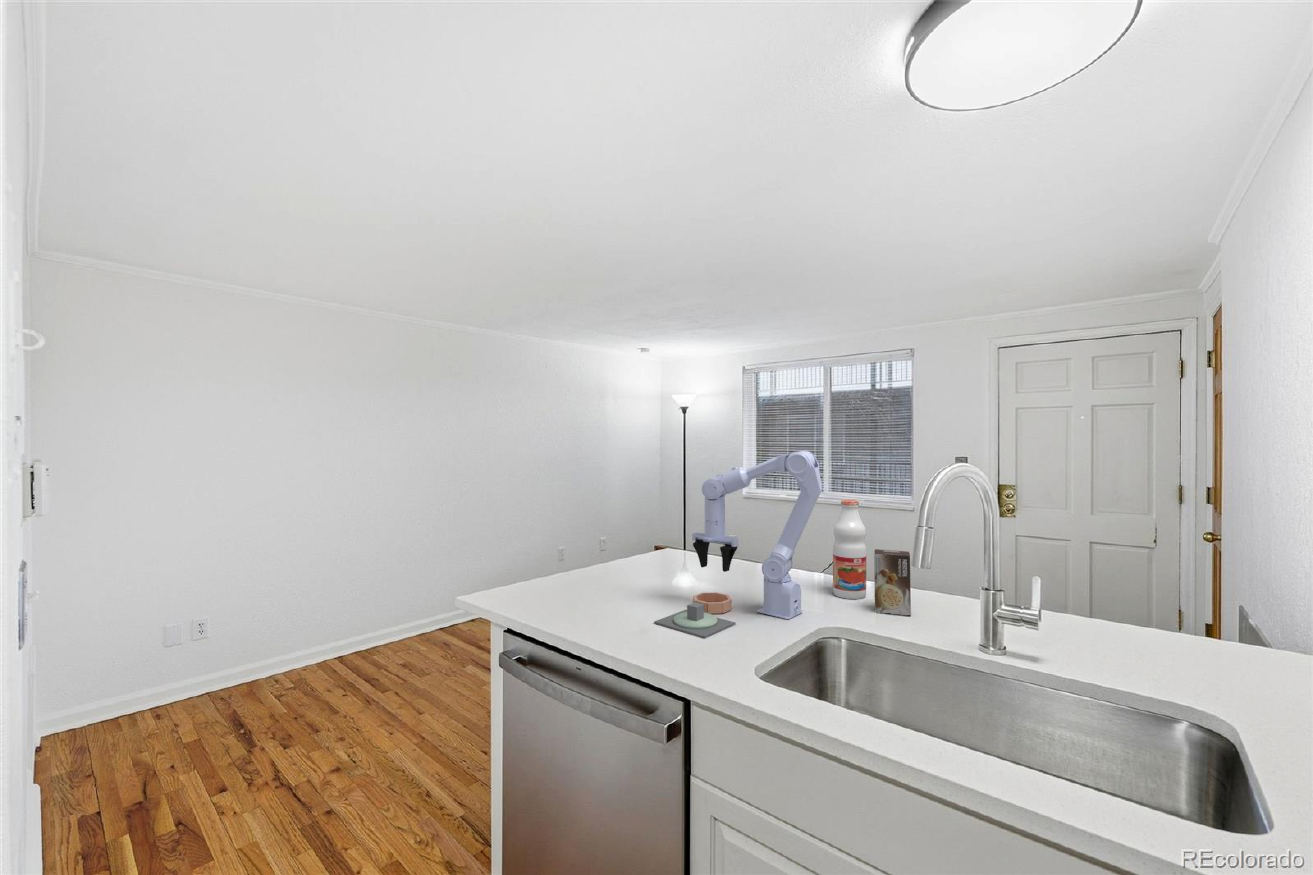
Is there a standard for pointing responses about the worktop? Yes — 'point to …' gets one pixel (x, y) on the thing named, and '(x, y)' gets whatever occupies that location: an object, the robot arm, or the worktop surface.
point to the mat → (701, 633)
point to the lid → (695, 618)
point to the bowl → (714, 602)
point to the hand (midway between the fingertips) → (714, 568)
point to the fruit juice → (849, 553)
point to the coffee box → (892, 582)
